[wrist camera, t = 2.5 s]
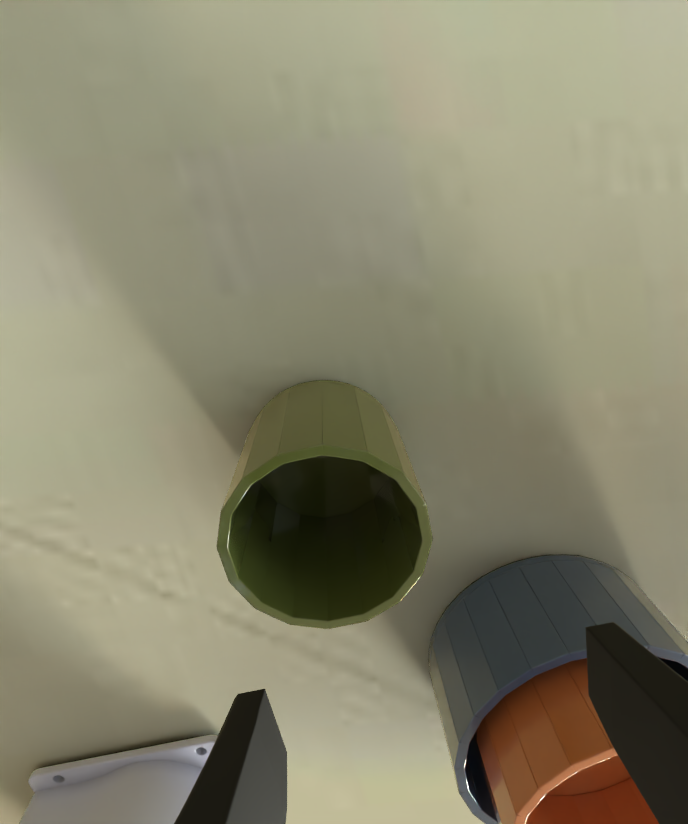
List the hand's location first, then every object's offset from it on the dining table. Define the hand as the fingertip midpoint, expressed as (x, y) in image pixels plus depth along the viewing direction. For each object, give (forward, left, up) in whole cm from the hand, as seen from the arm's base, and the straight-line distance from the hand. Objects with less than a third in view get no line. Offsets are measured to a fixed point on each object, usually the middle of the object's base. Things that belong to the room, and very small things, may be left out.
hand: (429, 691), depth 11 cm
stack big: (+6, -10, -9) cm, 15 cm away
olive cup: (-2, +2, -9) cm, 10 cm away
